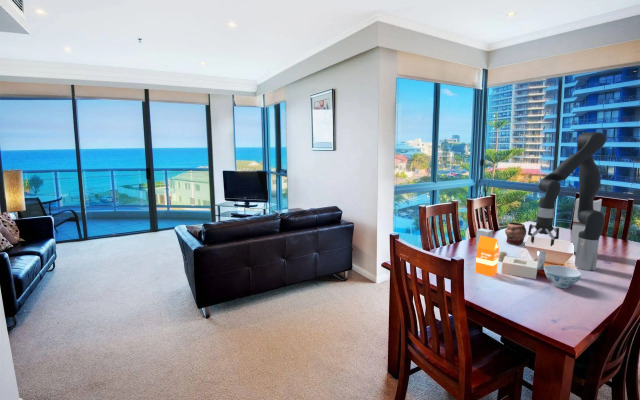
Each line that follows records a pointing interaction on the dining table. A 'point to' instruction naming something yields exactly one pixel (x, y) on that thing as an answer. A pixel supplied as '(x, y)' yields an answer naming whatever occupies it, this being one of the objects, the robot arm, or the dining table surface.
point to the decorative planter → (515, 233)
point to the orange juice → (487, 256)
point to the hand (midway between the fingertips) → (541, 244)
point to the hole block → (519, 267)
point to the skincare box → (483, 233)
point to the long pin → (540, 260)
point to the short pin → (502, 256)
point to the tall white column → (579, 226)
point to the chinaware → (562, 275)
